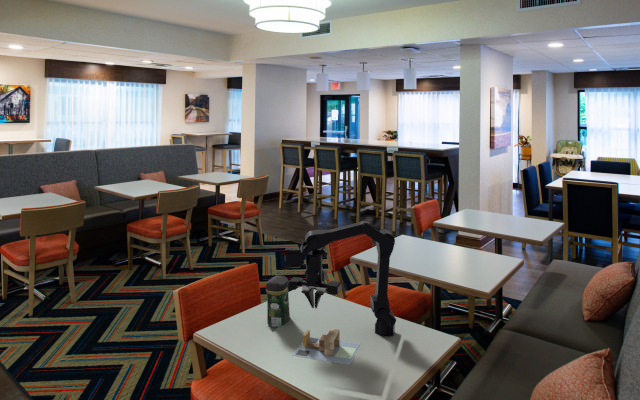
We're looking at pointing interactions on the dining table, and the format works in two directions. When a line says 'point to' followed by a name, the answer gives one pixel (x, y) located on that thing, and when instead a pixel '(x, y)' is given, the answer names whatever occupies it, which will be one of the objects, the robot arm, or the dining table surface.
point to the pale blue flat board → (341, 356)
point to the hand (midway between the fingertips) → (314, 308)
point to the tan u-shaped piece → (313, 345)
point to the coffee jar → (277, 301)
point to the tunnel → (332, 341)
